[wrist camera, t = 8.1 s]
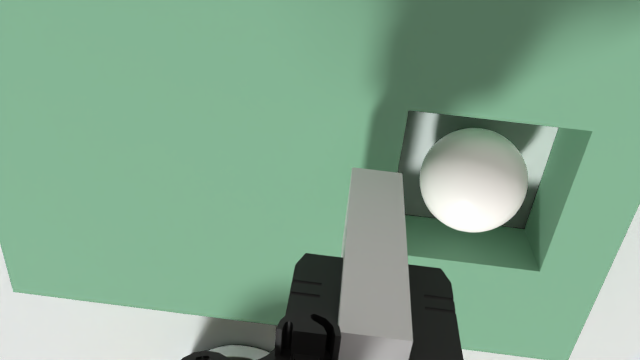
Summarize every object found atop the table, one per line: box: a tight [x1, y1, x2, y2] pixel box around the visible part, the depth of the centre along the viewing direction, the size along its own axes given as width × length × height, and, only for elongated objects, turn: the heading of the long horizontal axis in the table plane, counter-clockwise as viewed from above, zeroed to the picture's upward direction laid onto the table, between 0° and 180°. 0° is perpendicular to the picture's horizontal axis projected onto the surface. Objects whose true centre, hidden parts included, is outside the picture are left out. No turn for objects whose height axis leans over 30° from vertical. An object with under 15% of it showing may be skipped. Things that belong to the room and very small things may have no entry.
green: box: [0, 0, 640, 360], centre depth 20 cm, size 22×14×2 cm, turn 85°
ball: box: [420, 128, 528, 233], centre depth 19 cm, size 4×4×4 cm
